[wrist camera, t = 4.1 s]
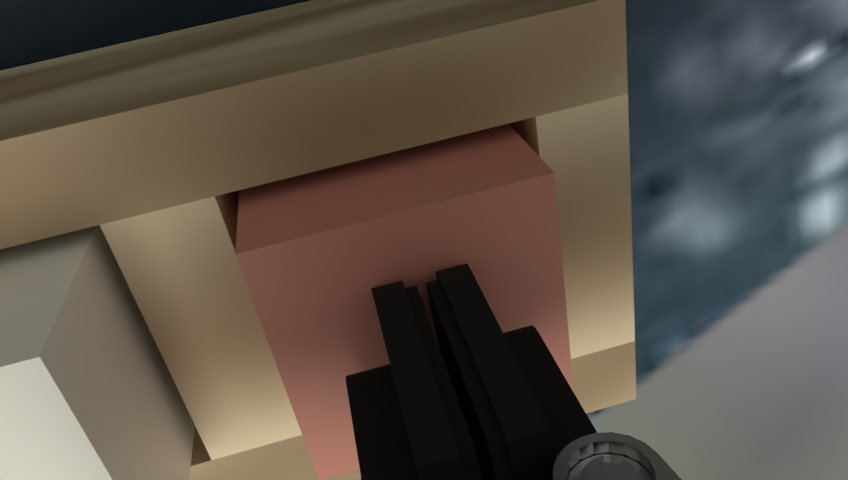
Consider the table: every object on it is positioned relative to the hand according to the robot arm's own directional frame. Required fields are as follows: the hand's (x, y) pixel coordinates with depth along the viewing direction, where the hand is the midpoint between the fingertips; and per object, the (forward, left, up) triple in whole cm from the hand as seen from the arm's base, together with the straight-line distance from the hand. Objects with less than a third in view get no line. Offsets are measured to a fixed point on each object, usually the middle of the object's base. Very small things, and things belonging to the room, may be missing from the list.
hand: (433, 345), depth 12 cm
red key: (0, 0, -4) cm, 4 cm away
